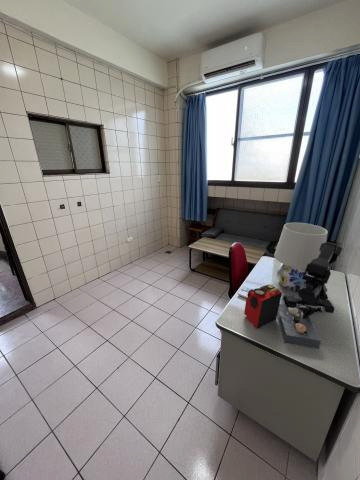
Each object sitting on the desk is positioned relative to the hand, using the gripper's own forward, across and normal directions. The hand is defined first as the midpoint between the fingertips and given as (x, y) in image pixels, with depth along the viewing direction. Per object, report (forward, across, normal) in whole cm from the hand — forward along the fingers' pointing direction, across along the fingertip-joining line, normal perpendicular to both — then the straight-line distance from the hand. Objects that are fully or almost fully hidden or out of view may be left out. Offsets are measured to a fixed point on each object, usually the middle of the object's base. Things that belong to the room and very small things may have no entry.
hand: (303, 318), depth 92 cm
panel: (+11, 0, -6) cm, 13 cm away
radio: (+12, +16, -8) cm, 22 cm away
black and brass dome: (+6, 0, -6) cm, 9 cm away
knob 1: (+11, 0, -12) cm, 16 cm away
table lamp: (+12, -9, -46) cm, 48 cm away
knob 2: (+11, 0, 0) cm, 11 cm away
